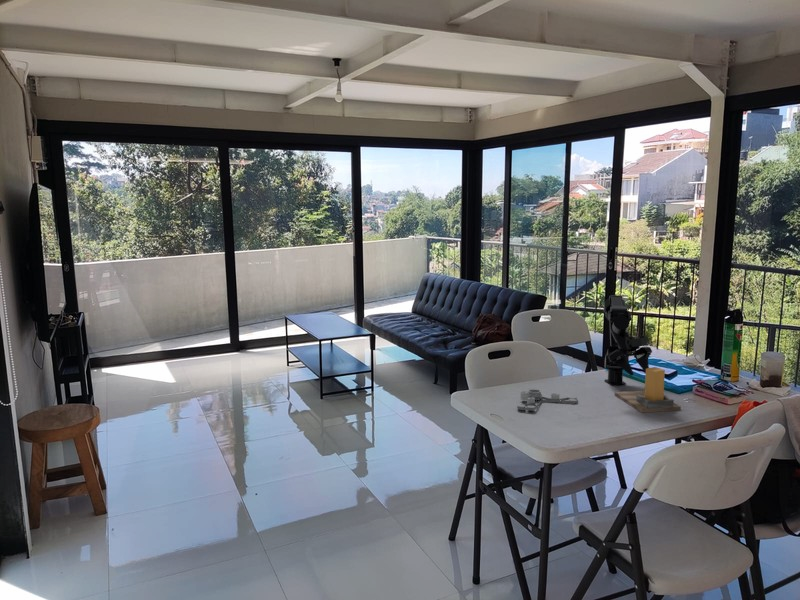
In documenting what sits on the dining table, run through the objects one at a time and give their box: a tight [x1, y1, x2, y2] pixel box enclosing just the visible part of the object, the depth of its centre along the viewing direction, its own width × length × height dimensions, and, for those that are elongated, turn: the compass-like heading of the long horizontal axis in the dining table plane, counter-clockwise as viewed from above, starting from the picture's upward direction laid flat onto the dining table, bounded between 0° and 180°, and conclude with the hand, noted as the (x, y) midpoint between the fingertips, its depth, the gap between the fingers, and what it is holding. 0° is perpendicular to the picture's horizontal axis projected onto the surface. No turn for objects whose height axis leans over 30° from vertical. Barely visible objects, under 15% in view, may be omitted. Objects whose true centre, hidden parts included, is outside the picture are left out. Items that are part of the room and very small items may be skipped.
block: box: [644, 366, 666, 401], centre depth 215 cm, size 4×4×13 cm
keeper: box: [614, 389, 682, 413], centre depth 221 cm, size 20×15×4 cm
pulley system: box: [516, 388, 578, 412], centre depth 225 cm, size 27×5×15 cm
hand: (640, 374), depth 223 cm, fingers open, 9 cm apart
